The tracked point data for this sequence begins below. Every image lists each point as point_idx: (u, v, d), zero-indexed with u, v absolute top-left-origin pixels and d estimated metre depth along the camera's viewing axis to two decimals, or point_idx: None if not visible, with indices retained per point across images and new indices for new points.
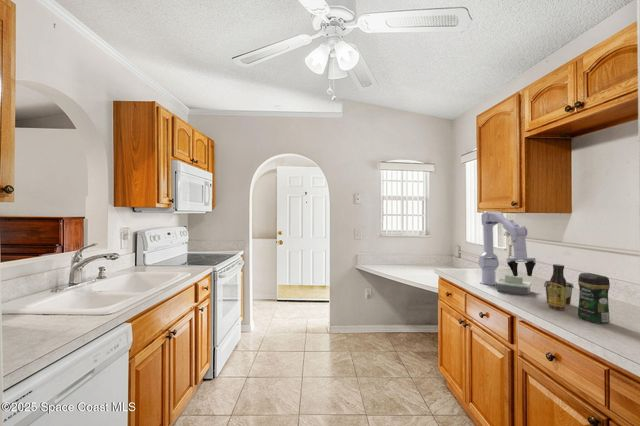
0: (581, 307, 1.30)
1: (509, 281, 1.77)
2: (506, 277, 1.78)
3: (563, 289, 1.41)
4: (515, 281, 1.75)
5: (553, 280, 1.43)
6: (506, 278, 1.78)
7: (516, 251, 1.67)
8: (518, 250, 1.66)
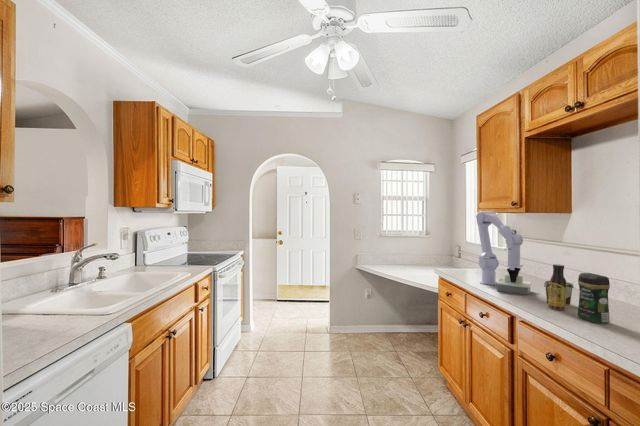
0: (581, 307, 1.30)
1: (509, 281, 1.77)
2: (506, 277, 1.78)
3: (563, 289, 1.41)
4: None
5: (553, 280, 1.43)
6: (506, 278, 1.78)
7: (515, 259, 1.75)
8: (517, 258, 1.75)
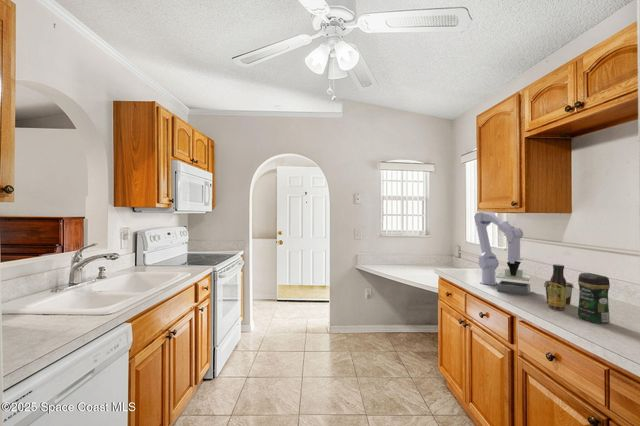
0: (581, 307, 1.30)
1: (509, 275, 1.77)
2: (506, 271, 1.78)
3: (563, 289, 1.41)
4: None
5: (553, 280, 1.43)
6: (506, 272, 1.78)
7: (515, 252, 1.75)
8: (517, 252, 1.75)
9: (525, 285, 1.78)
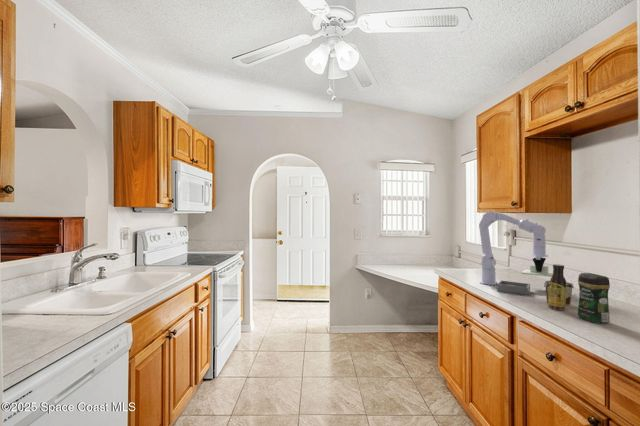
0: (581, 307, 1.30)
1: (535, 271, 1.80)
2: (531, 267, 1.81)
3: (563, 289, 1.41)
4: (541, 271, 1.78)
5: (553, 280, 1.43)
6: (531, 268, 1.81)
7: (540, 249, 1.78)
8: (542, 248, 1.78)
9: (525, 285, 1.78)
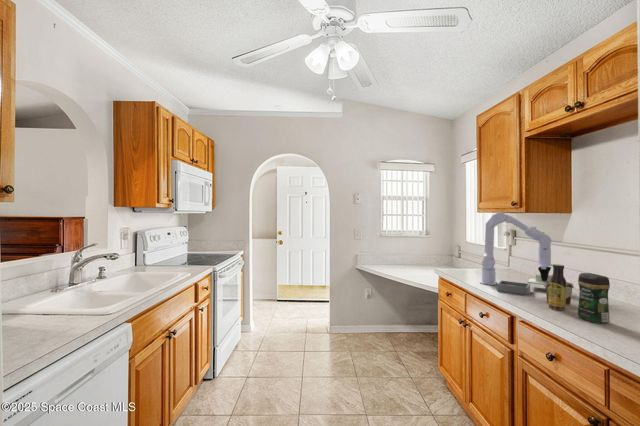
0: (581, 307, 1.30)
1: (540, 280, 1.81)
2: (537, 276, 1.82)
3: (563, 289, 1.41)
4: None
5: (553, 280, 1.43)
6: (537, 277, 1.82)
7: (546, 258, 1.79)
8: (548, 257, 1.78)
9: (525, 285, 1.78)
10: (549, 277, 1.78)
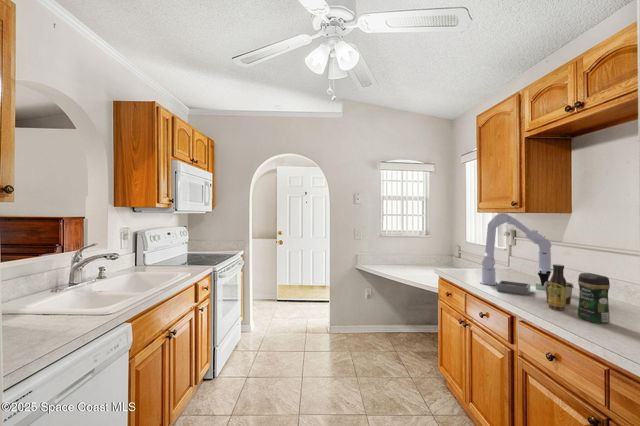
0: (581, 307, 1.30)
1: (540, 288, 1.81)
2: (537, 284, 1.82)
3: (563, 289, 1.41)
4: None
5: (553, 280, 1.43)
6: (537, 285, 1.82)
7: (546, 263, 1.79)
8: (548, 262, 1.78)
9: (525, 285, 1.78)
10: None
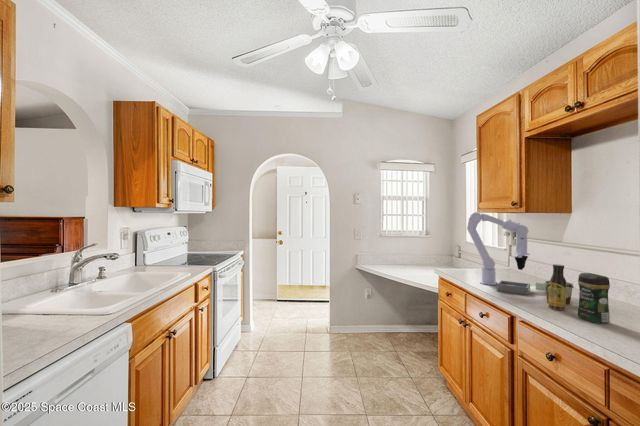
0: (581, 307, 1.30)
1: (540, 288, 1.81)
2: (537, 284, 1.82)
3: (563, 289, 1.41)
4: None
5: (553, 280, 1.43)
6: (537, 285, 1.82)
7: (522, 247, 1.87)
8: (524, 247, 1.87)
9: (525, 285, 1.78)
10: None
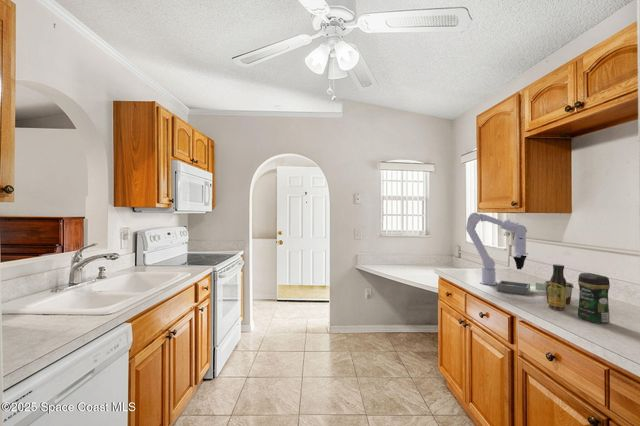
0: (581, 307, 1.30)
1: (540, 288, 1.81)
2: (537, 284, 1.82)
3: (563, 289, 1.41)
4: None
5: (553, 280, 1.43)
6: (537, 285, 1.82)
7: (521, 247, 1.88)
8: (523, 246, 1.87)
9: (525, 285, 1.78)
10: None
